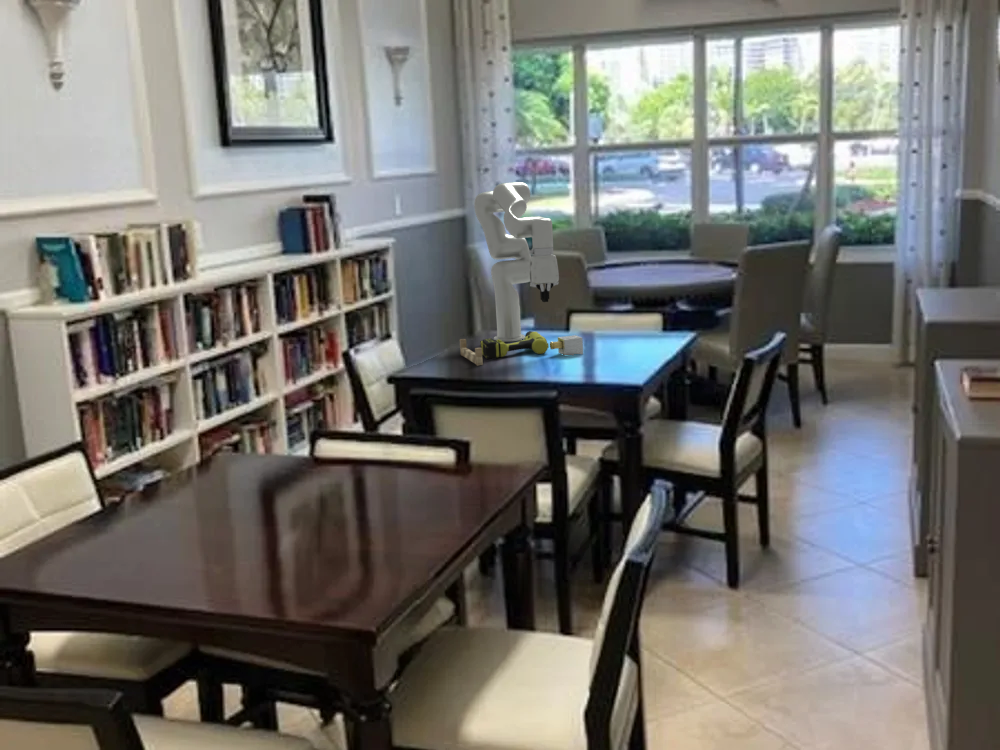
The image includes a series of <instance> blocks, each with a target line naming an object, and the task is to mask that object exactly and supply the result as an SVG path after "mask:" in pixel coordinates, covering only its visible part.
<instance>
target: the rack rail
mask: <svg viewBox="0 0 1000 750" xmlns="http://www.w3.org/2000/svg"><path fill="white" fill-rule="evenodd" d="M467 347H468V346H467V339H466V338H459V349H460V350H459V351H460V356H462V357H464V358H466V359H467V360H468V361H470V362H472V363H473V364H475V365H476V366H477V367H479V366H483V365H484V363H483V361H484V360H483V354H482V348H481V347H475V348H474V351H473V350H471V349H469V348H467Z"/></svg>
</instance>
